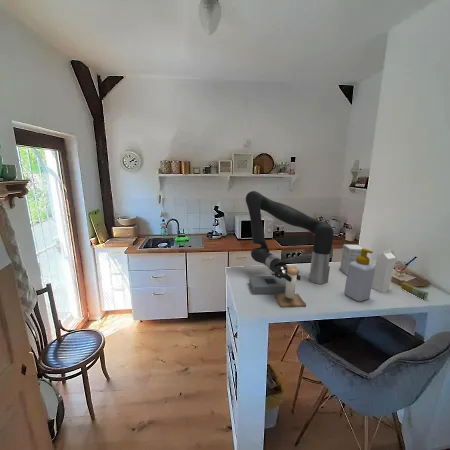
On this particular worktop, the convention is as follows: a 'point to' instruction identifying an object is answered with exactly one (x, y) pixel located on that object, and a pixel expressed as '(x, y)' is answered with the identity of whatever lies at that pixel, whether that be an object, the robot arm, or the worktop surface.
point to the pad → (289, 301)
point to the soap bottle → (360, 277)
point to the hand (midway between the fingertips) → (295, 279)
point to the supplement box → (349, 256)
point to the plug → (291, 285)
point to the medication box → (415, 291)
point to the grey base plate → (267, 285)
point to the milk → (383, 271)
